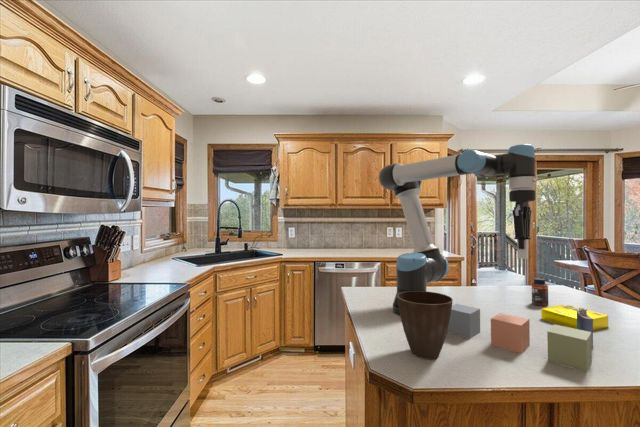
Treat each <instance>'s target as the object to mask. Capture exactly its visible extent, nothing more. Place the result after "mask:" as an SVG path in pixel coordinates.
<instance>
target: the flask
mask: <svg viewBox="0 0 640 427" xmlns="http://www.w3.org/2000/svg"><path fill="white" fill-rule="evenodd" d="M578 308H579V309H580V308H581V309H580V310H578V311H577V329H579V330H584V331H588V332H591V341H592V350H593V349H594V330H593V318H591V317H590V316H588V315H587V312H586V311H587V310H588V309H585V308H582V307H578Z"/></svg>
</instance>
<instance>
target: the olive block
mask: <svg viewBox="0 0 640 427" xmlns="http://www.w3.org/2000/svg"><path fill="white" fill-rule="evenodd" d="M546 336H547V338H546V340H547V362H550V363H553V364H557V365H560V366H565V367H567V368H571V369H575V370H577V371H582V372H585V373H588V371H589V369H590V367H591V365H592V362H593V361H592V360H593V358H592V357H593V355H592V350H593V349H592V341H591V332H588V331H584V330H579V329H574V328H569V327H565V326H562V325H559V324H555V323H553V325H552V326H551V327H550V328H549V329H548V330H547V335H546Z"/></svg>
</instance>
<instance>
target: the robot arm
mask: <svg viewBox="0 0 640 427" xmlns="http://www.w3.org/2000/svg"><path fill="white" fill-rule="evenodd" d="M471 174H473V175H474V177H477V178H488V177H496V176H504V175H505V176H506V175H508V189H509V190H510V191H509V193H508V195H509V198H508V200H509V202H511V203H515V205H514V207H513V210H512V218H513V227H514V240H516V241H517V242H516V243H517V244H516V245H517V249H516V250H517V252H516V253H517V254H516V255H517V259H520V260H521V259H523V260H528V259H529V240H531V239H532V238H531V237H530V236H531V234H530V233H531V232H530V231H531V219H532V210H531V207H530V206H529V205H530V204H529V202H535V201H536V190H534V189H535V188H536V183H537V182H538V179H536V154H535V146H534V145H533V144H530V143H529V144H528V143H524V144H523V143H522V144H516V145H512V146H510V147H509V148H508V151H507V153H501V154H495V155H493V154H489V153H486V152H482V151H479V150H478V149H477V150H476V149H467V150H464V151H463V152H462V153H458V154H455V155H454V154H453V155H449V156H448V155H447V156H443V157H439V158H438V157H437V158H433V159H428V160H427V159H426V160H422V161H417V162H411V163H406V164H402V163H401V162H399V163H398V162H397V163H394V164H393V163H391V164H387V165H385V166H384V167H382V168H381V170H380V171H379V174H378V181H379V183H380V186H382V187H383V189H386V190H387V191H392V192H393V193H394V196H395V199H396V200H397V199H398V200H399V201H400V205H401V208H402V211H403V215H404V218H405V222H406V226H407V230H408V232H409V236H410V239H411V243H412V246H413V251H412V252H409V253H402V254H400V255H399V256H397V258H396V264H395V268H396V294H395V295H394V300H393V302H392V312H393V313H394V314H396V315H398V316H400V311H399V305H398V298H397V295H398V294H399V293H402V292H408V291H426V292H427V284H429V283H433V282H439V281H440V280H443V279H444V278H445V277H447V275H448V273H449V270H450V264H449V261H448V259H447V258H446V256H444V255H443V254H441V251H440V248H439V247H438V246H436V245H435V244H434V242H433V238H432V234H431V232H430V228H429V225H428V222H427V219H426V215H425V212H424V208H423V205H422V202H421V198H420V196H419V195H420V193H421V191H422V190H421V186H422V183H423V181H428V180H434V179H440V178H448V177H449V178H450V177H457V176H463V175H471Z"/></svg>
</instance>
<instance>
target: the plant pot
mask: <svg viewBox="0 0 640 427" xmlns="http://www.w3.org/2000/svg"><path fill="white" fill-rule="evenodd" d="M397 298H398V305H399V311H400V315H399V316H400V320H401V325H402V328H403V333H404V334H405V338H406V341H407V343H408V347H409V349H410V352H411V353H412V355H413V356H415V357H417V358H420V359H426V360H433V359H437V358H439V357H440V355H441V354H440V353H441V351H442V349H443V346H444V343H445V340H446V337H447V333H448V332H447V330H448V326H449V321H450V316H451V309H452V305H453V301H454V300H453V298H452V297H451V296H450V295H447V294H445V293H444V294H443V293H441V292H434V291H427V290H426V291H408V292H402V293H399V294H398V295H397Z"/></svg>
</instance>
